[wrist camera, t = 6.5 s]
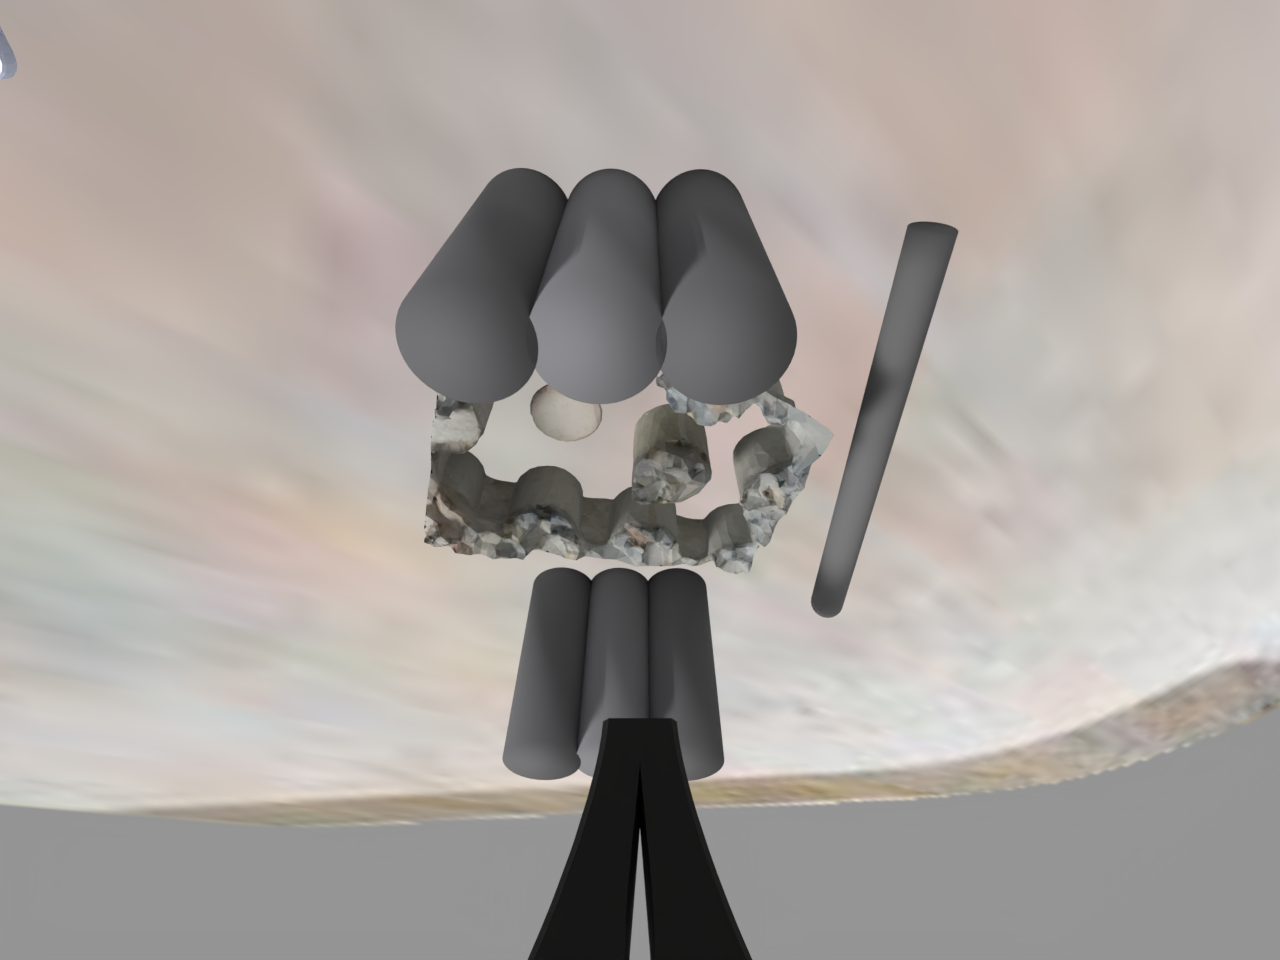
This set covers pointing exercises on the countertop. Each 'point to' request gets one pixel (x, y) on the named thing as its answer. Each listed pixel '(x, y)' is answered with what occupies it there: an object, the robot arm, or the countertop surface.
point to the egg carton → (639, 515)
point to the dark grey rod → (883, 404)
